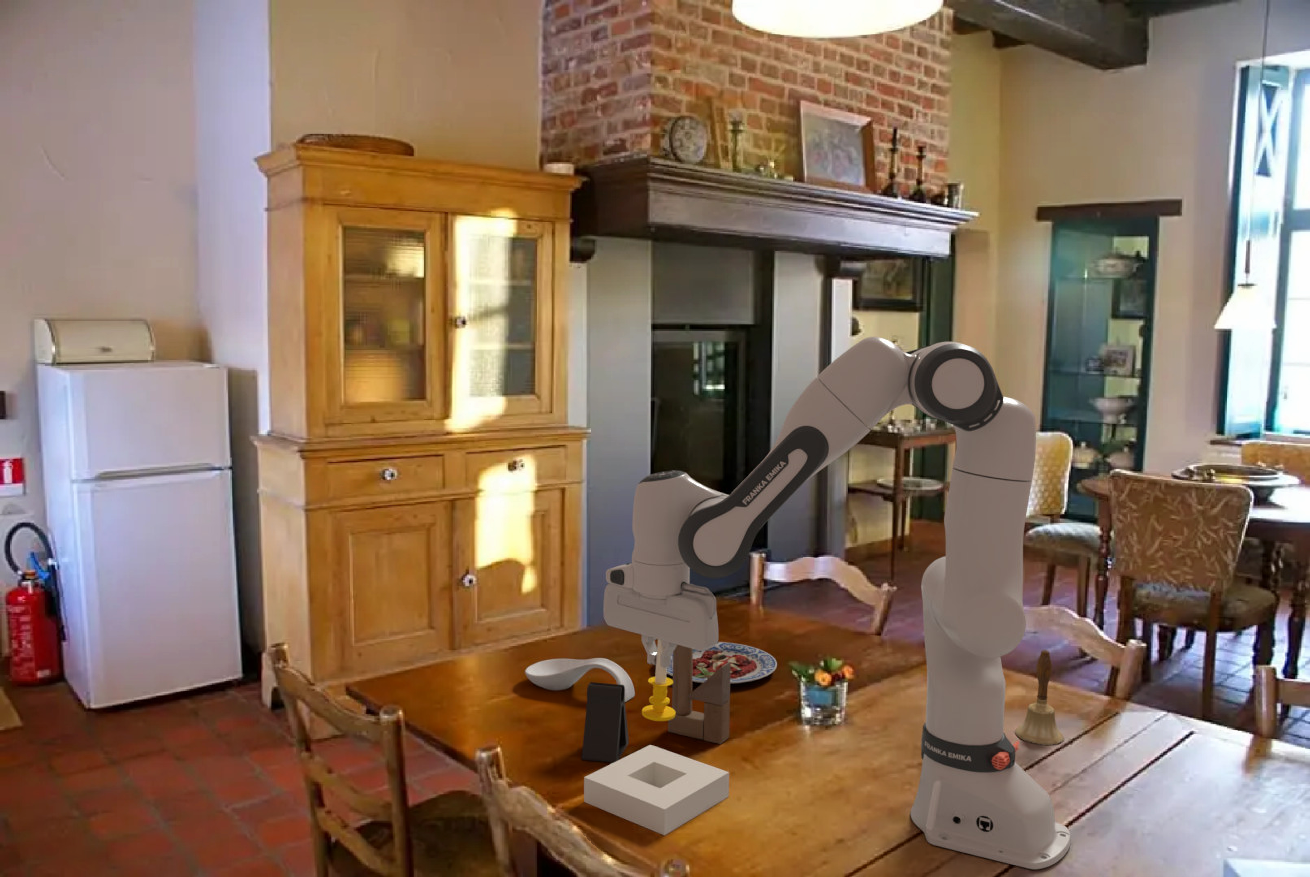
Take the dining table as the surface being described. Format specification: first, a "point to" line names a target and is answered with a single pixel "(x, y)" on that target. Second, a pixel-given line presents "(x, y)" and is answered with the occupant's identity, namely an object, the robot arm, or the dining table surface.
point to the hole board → (656, 788)
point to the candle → (659, 693)
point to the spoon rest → (575, 673)
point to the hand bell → (1041, 710)
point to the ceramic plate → (743, 662)
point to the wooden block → (711, 692)
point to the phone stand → (605, 723)
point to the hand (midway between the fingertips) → (658, 665)
